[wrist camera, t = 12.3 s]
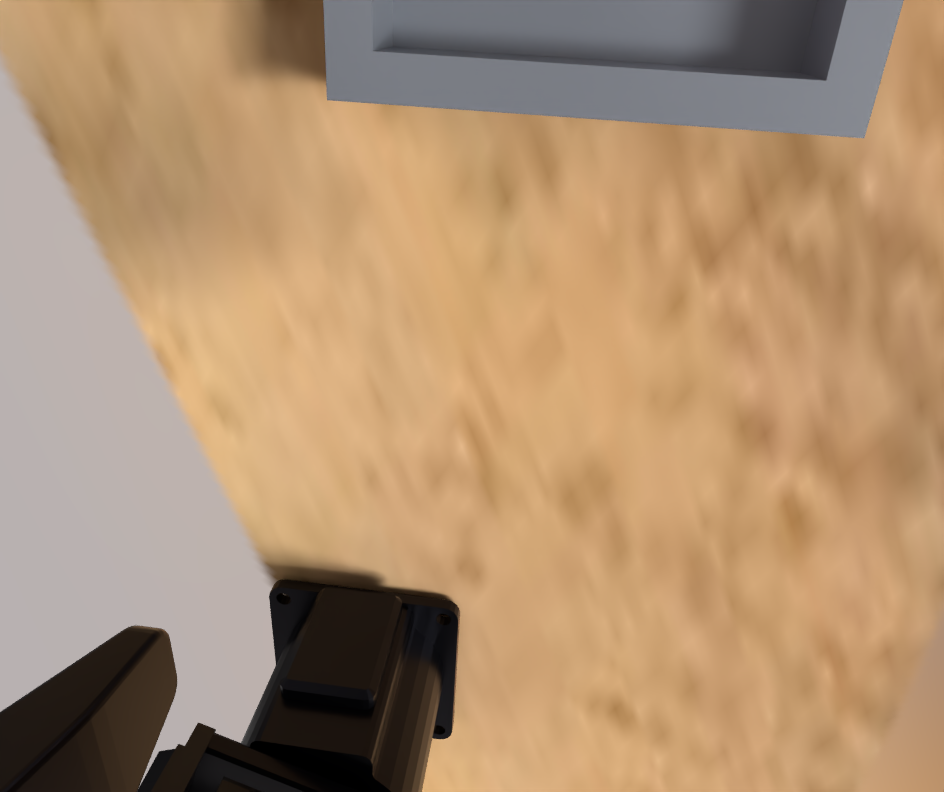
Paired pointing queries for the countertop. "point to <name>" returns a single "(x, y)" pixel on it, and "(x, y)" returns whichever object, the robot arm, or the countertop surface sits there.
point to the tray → (620, 59)
